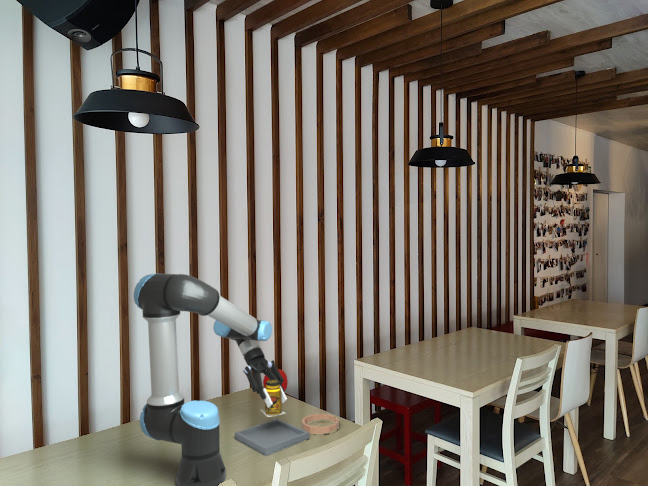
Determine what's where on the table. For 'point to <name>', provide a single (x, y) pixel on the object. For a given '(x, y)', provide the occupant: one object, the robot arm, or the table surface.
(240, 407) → the table surface
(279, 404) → the condiment
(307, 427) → the ring holder
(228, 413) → the table surface
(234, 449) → the table surface
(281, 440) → the tray
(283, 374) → the tomato
